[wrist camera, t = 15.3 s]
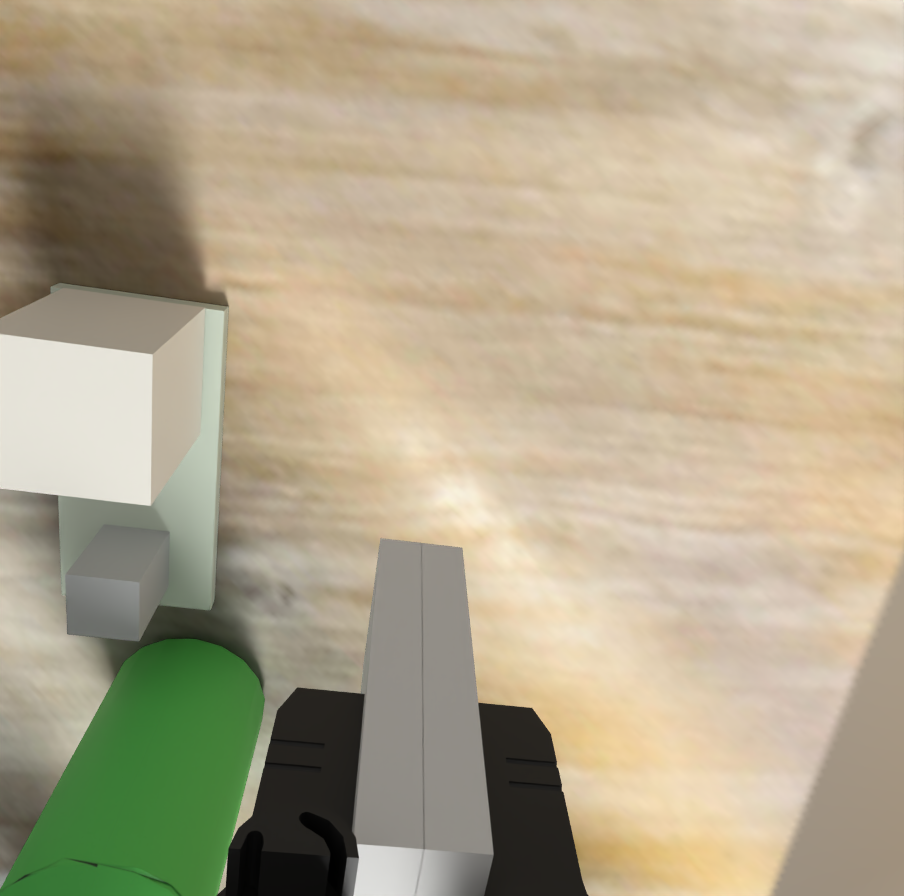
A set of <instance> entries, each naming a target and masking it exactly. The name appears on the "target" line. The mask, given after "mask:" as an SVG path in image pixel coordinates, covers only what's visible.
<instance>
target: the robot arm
mask: <svg viewBox="0 0 904 896" xmlns="http://www.w3.org/2000/svg"><path fill="white" fill-rule="evenodd" d="M556 765H557V761H556V756H555V751H554V747H553V742H552V737H551V734H550V732H549V731H548V729H547V728H546V727H545V725H544V724H543V722H542V721H541V720H540V718H539V717H538V716H537V714H536V713H535V711H534V710H533V709H532V708H526V707H516V706H505V705H495V704H485V703H478V697H477V687H476V677H475V667H474V658H473V648H472V638H471V628H470V619H469V609H468V599H467V589H466V579H465V570H464V560H463V550H462V548H460V547H452V546H443V545H434V544H426V543H417V542H408V541H400V540H391V539H382V538H381V539H380V546H379V553H378V561H377V568H376V576H375V583H374V590H373V598H372V605H371V612H370V620H369V627H368V634H367V642H366V649H365V657H364V665H363V675H362V685H361V694H358V693H348V692H338V691H327V690H317V689H307V688H297V689H296V690H295V691H294V692H293V693H292V694H291V695H290V697H289V698H288V699H287V700H286V701H285V702H284V704H283V705H282V706H281V707H280V708H279V709H278V710H277V714H276V719H275V723H274V727H273V731H272V735H271V741H270V744H269V748H268V752H267V756H266V761H265V767H264V769H263V773H262V778H261V782H260V786H259V790H258V794H257V799H256V803H255V807H254V811H253V815H252V817H251V818H250V819H248V820H247V821H246V822H245V823H244V824H243V825H242V826H240V827H239V828H238V830H237V832H236V834H235V836H234V838H233V840H232V842H231V844H230V846H229V848H228V862H227V877H226V887H225V888H224V889H223V890H222V891H221V892H220V893H219V894H218V895H216V896H588V895H587V892H586V890H585V887H584V884H583V881H582V877H581V872H580V868H579V863H578V858H577V854H576V849H575V844H574V840H573V835H572V830H571V826H570V821H569V816H568V812H567V807H566V802H565V798H564V793H563V792H562V784H561V779H560V775H559V770H558V768H557V766H556Z"/></svg>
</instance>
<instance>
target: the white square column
mask: <svg viewBox="0 0 904 896" xmlns="http://www.w3.org/2000/svg"><path fill="white" fill-rule="evenodd" d="M204 327H205V307H198V306H191V305H183V304H176V303H169V302H162V301H155V300H148V299H141V298H133V297H126V296H119V295H112V294H105V293H98V292H90V291H83V290H76V289H69V288H62V289H60V290H58V291H56V292H54V293H52V294H50V295H48V296H46V297H44V298H42V299H39V300H37V301H35V302H33V303H31V304H29V305H27V306H25V307H23V308H21V309H19V310H16V311H14V312H12V313H10V314H8V315H6V316H4V317H2V318H0V488H1V489H9V490H18V491H27V492H35V493H44V494H52V495H61V496H70V497H78V498H87V499H95V500H104V501H113V502H121V503H130V504H138V505H147V506H151V505H152V503H153V502H154V500H155V499H156V498H157V496H158V495H159V493H160V492H161V490H162V489H163V487H164V486H165V484H166V483H167V482H168V480H169V479H170V477H171V476H172V474H173V473H174V471H175V470H176V469H177V467H178V466H179V464H180V463H181V461H182V460H183V458H184V457H185V455H186V454H187V453H188V451H189V450H190V448H191V447H192V445H193V444H194V442H195V441H196V440H197V438H198V437H199V435H200V434H201V407H202V381H203V354H204Z"/></svg>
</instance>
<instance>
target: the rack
mask: <svg viewBox="0 0 904 896" xmlns="http://www.w3.org/2000/svg"><path fill="white" fill-rule="evenodd" d="M50 288H51V294H52V293H54V292H56V291H58V290H60V289H62V288H69V289H76V290H83V291H90V292H98V293H105V294H112V295H119V296H126V297H133V298H141V299H148V300H155V301H162V302H169V303H176V304H183V305H191V306H198V307H205V327H204V354H203V381H202V407H201V434H200V435H199V437H198V438H197V440H196V441H195V442H194V444H193V445H192V447H191V448H190V450H189V451H188V453H187V454H186V455H185V457H184V458H183V460H182V461H181V463H180V464H179V466H178V467H177V469H176V470H175V471H174V473H173V474H172V476H171V477H170V479H169V480H168V482H167V483H166V484H165V486H164V487H163V489H162V490H161V492H160V493H159V495H158V496H157V498H156V499H155V500H154V502H153V503H152V505H151V506H147V505H138V504H130V503H121V502H113V501H104V500H95V499H87V498H78V497H70V496H61V495H58V508H59V536H60V563H61V591H62V595H66V612H67V634H69V635H79V636H89V637H99V638H109V639H119V640H129V641H140V639H141V637H142V635H143V633H144V631H145V629H146V627H147V626H148V624H149V622H150V620H151V618H152V616H153V614H154V612H155V611H156V609H157V607H158V605H162V606H172V607H182V608H191V609H201V610H211V608H212V605H213V603H214V601H215V581H216V560H217V540H218V519H219V498H220V478H221V457H222V436H223V415H224V395H225V374H226V353H227V333H228V312H229V307H228V306H221V305H214V304H207V303H200V302H193V301H185V300H178V299H171V298H164V297H157V296H150V295H143V294H136V293H128V292H121V291H114V290H107V289H100V288H93V287H86V286H79V285H71V284H64V283H58V284H56V285H53V286H51V287H50Z"/></svg>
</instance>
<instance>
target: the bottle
mask: <svg viewBox="0 0 904 896" xmlns="http://www.w3.org/2000/svg"><path fill="white" fill-rule="evenodd" d="M264 702H265V698H264V695H263V692H262V689H261V685H260V682H259V679H258V678H257V676H256V675H255V674H254V673H253V671H252V670H251V669H250V668H249V666H248V665H247V664H246V663H245V662H244V660H242V659H241V658H239V657H238V656H236V655H234V654H233V653H231V652H230V651H228V650H227V649H225V648H223V647H222V646H219V645H215V644H212V643H208V642H205V641H201V640H198V639H166V640H163V641H160V642H157V643H153V644H150V645H147V646H144V647H142V648H141V649H140V650H138V651H137V652H136V653H134V654H133V655H132V656H131V657H129V658H128V659H127V660H125V661H124V663H123V665H122V667H121V668H120V670H119V672H118V674H117V676H116V678H115V679H114V681H113V683H112V685H111V687H110V689H109V690H108V692H107V694H106V696H105V698H104V700H103V701H102V703H101V705H100V707H99V709H98V711H97V712H96V714H95V716H94V718H93V720H92V721H91V723H90V725H89V727H88V729H87V731H86V732H85V734H84V736H83V738H82V740H81V742H80V743H79V745H78V747H77V749H76V751H75V753H74V754H73V756H72V758H71V760H70V762H69V764H68V765H67V767H66V769H65V771H64V773H63V775H62V776H61V778H60V780H59V782H58V784H57V786H56V787H55V789H54V791H53V793H52V795H51V797H50V799H49V800H48V802H47V804H46V806H45V808H44V810H43V811H42V813H41V815H40V817H39V819H38V821H37V823H36V824H35V826H34V828H33V830H32V832H31V834H30V835H29V837H28V839H27V841H26V843H25V845H24V847H23V848H22V850H21V852H20V854H19V856H18V858H17V859H16V861H15V863H14V865H13V867H12V869H11V871H10V872H9V874H8V876H7V878H6V880H5V882H4V883H3V885H2V887H1V889H0V896H216V895H217V894H218V890H219V886H220V882H221V879H222V875H223V871H224V867H225V863H226V859H227V855H228V848H229V846H230V844H231V840H232V836H233V832H234V828H235V824H236V821H237V817H238V813H239V809H240V805H241V801H242V797H243V793H244V789H245V785H246V781H247V777H248V773H249V769H250V765H251V761H252V758H253V754H254V750H255V746H256V742H257V738H258V734H259V730H260V726H261V722H262V717H263V709H264Z"/></svg>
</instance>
